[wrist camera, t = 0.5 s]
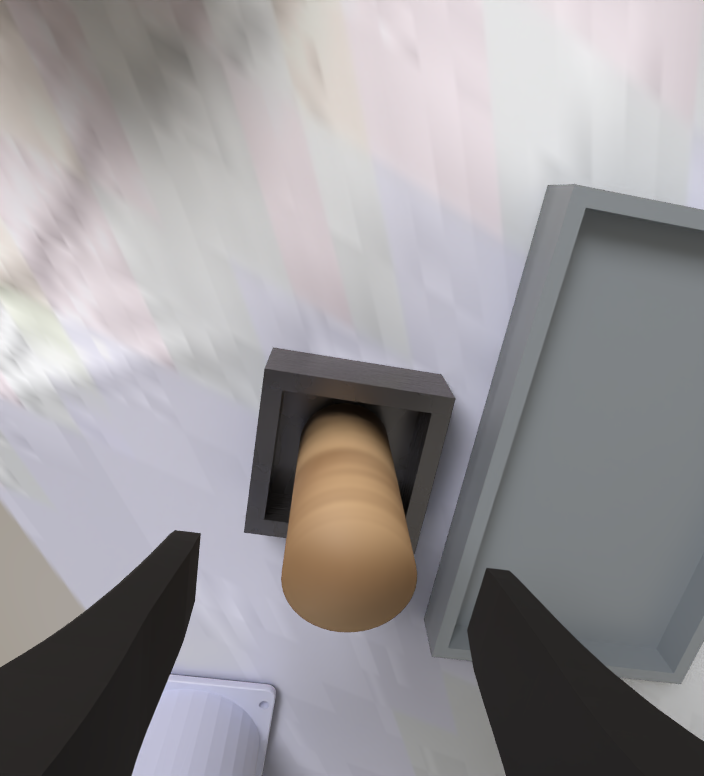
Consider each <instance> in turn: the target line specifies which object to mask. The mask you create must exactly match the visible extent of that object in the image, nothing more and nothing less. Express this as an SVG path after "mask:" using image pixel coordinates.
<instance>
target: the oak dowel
mask: <svg viewBox="0 0 704 776" xmlns="http://www.w3.org/2000/svg"><path fill="white" fill-rule="evenodd" d="M281 581H282V588H283V592H284V595H285V597H286V600H287V601H288V603H289V604H290V606H291V607H292V608H293V610H294V611H295V612H296V613H297V614H298V615H299V616H300V617H302V618H303V619H305V620H306V621H307V622H309V623H311V624H313V625H315V626H318V627H320V628H323V629H327V630H330V631H336V632H358V631H365V630H369V629H372V628H375V627H378V626H380V625H382V624H384V623H386V622H388V621H390V620H391V619H393V618H394V617H395V616H397V615H398V614H399V613H400V612H401V611H402V610H403V609H404V608H405V607H406V605H407V604H408V603H409V601H410V600H411V598H412V596H413V593H414V591H415V588H416V583H417V570H416V564H415V559H414V555H413V550H412V545H411V541H410V536H409V532H408V527H407V523H406V518H405V513H404V509H403V504H402V500H401V495H400V490H399V486H398V481H397V477H396V472H395V468H394V463H393V458H392V454H391V449H390V445H389V440H388V435H387V432H386V429H385V427H384V425H383V423H382V422H381V420H380V419H379V418H378V417H377V416H376V415H375V414H374V413H373V412H371V411H370V410H368V409H366V408H364V407H362V406H359V405H355V404H348V403H341V404H334V405H330V406H327V407H325V408H323V409H321V410H319V411H318V412H316V413H315V414H314V415H313V416H312V417H311V418H310V419H309V420H308V421H307V423H306V424H305V426H304V428H303V430H302V433H301V437H300V444H299V452H298V459H297V466H296V473H295V481H294V488H293V495H292V502H291V509H290V517H289V524H288V531H287V538H286V546H285V553H284V560H283V567H282V577H281Z"/></svg>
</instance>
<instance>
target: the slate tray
mask: <svg viewBox="0 0 704 776" xmlns="http://www.w3.org/2000/svg"><path fill="white" fill-rule="evenodd" d="M486 568H493V569H502V570H509V571H511V572H512V573H513V574H514V575H515V576H516V577H517V578H518V579H519V580H520V581H521V582H522V583H523V584H524V585H525V586H526V587H527V588H528V589H529V591H530V592H531V593H532V594H533V595H534V596H535V597H536V598H537V599H538V600H539V601H540V602H541V603H542V604H543V605H544V606H545V607H546V608H547V609H548V610H549V611H550V613H551V614H552V615H553V616H554V617H555V618H556V619H557V620H558V621H559V622H560V623H561V624H562V625H563V626H564V627H565V628H566V629H567V630H568V631H569V632H570V633H571V634H572V635H573V636H574V637H575V638H576V639H577V640H578V641H579V642H580V643H581V644H582V645H583V646H584V647H586V648H587V649H588V650H589V651H590V652H591V653H592V654H593V655H594V656H595V657H596V658H597V659H599V660H600V661H601V662H602V663H603V664H604V665H605V666H606V667H607V668H608V669H610V670H611V671H612V672H613V673H614V674H615V675H616V676H618V677H620V678H630V679H639V680H648V681H657V682H666V683H675V684H681V683H682V681H683V679H684V677H685V675H686V674H687V672H688V670H689V668H690V666H691V664H692V662H693V660H694V658H695V657H696V655H697V653H698V651H699V649H700V647H701V645H702V643H703V641H704V210H701V209H696V208H691V207H686V206H681V205H676V204H671V203H666V202H661V201H656V200H651V199H646V198H641V197H636V196H631V195H625V194H620V193H615V192H610V191H605V190H600V189H595V188H590V187H585V186H580V185H575V184H569V185H548V187H547V190H546V194H545V197H544V201H543V204H542V208H541V211H540V215H539V218H538V222H537V225H536V229H535V232H534V236H533V239H532V243H531V246H530V250H529V253H528V257H527V260H526V264H525V267H524V271H523V274H522V278H521V281H520V285H519V288H518V292H517V295H516V299H515V302H514V306H513V309H512V313H511V316H510V320H509V323H508V327H507V330H506V334H505V337H504V341H503V344H502V348H501V351H500V355H499V358H498V362H497V365H496V369H495V372H494V376H493V379H492V383H491V386H490V390H489V393H488V397H487V400H486V404H485V407H484V411H483V414H482V418H481V421H480V425H479V428H478V432H477V435H476V439H475V442H474V446H473V449H472V453H471V456H470V460H469V463H468V467H467V470H466V474H465V477H464V481H463V484H462V488H461V491H460V495H459V498H458V502H457V505H456V509H455V513H454V516H453V520H452V523H451V527H450V530H449V534H448V537H447V541H446V544H445V548H444V551H443V555H442V558H441V562H440V565H439V569H438V572H437V576H436V579H435V583H434V586H433V590H432V593H431V597H430V600H429V604H428V607H427V611H426V614H425V618H424V621H425V626H426V631H427V636H428V641H429V645H430V650H431V655H432V657H439V658H448V659H457V660H466V661H472V657H471V652H470V646H469V640H468V633H467V628H468V625H469V622H470V619H471V616H472V612H473V609H474V606H475V603H476V599H477V596H478V593H479V590H480V587H481V583H482V580H483V577H484V574H485V571H486Z"/></svg>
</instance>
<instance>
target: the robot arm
mask: <svg viewBox="0 0 704 776" xmlns="http://www.w3.org/2000/svg"><path fill="white" fill-rule="evenodd" d="M200 535H201V533H194V532H185V531H177V530H175V531H174V532H172V533H171V534H169V536H168V537H167V538H166V539H165V540H164V541H163V542H162V543H161V544H160V545H159V546H158V547H157V548H156V549H155V550H154V551H153V552H152V553H151V554H150V555H149V556H148V557H147V558H146V559H145V560H144V561H143V562H142V563H141V564H140V565H139V566H137V567H136V568H135V569H134V570H133V571H132V572H131V573H130V574H129V575H128V576H126V577H125V578H124V579H123V580H122V581H121V582H120V583H119V584H118V585H116V586H115V587H114V588H113V589H112V590H111V591H109V592H108V593H107V594H106V595H104V596H103V597H102V598H101V599H100V600H98V601H97V602H96V603H95V604H93V605H92V606H91V607H90V608H89V609H87V610H86V611H85V612H83V613H82V614H81V615H80V616H78V617H77V618H75V619H74V620H73V621H72V622H70V623H69V624H67V625H66V626H65V627H63V628H62V629H60V630H59V631H57V632H56V633H54V634H53V635H52V636H50V637H49V638H47V639H46V640H44V641H43V642H41V643H40V644H38V645H36V646H35V647H33V648H32V649H30V650H28V651H27V652H25V653H24V654H22V655H20V656H18V657H17V658H15V659H14V660H12V661H10V662H9V663H7V664H5V665H4V666H2V667H0V776H262V773H263V767H264V761H265V755H266V749H267V744H268V738H269V732H270V726H271V720H272V715H273V709H274V703H275V697H276V689H275V688H274V687H273V686H271V685H268V684H260V683H250V682H241V681H231V680H221V679H211V678H202V677H192V676H182V675H172V674H170V673H171V671H172V668H173V666H174V663H175V661H176V658H177V656H178V654H179V651H180V648H181V646H182V643H183V641H184V637H185V634H186V631H187V627H188V624H189V620H190V616H191V613H192V609H193V606H194V602H195V594H196V582H197V570H198V558H199V547H200ZM467 633H468V640H469V646H470V652H471V657H472V662H473V668H474V672H475V675H476V679H477V682H478V686H479V689H480V692H481V695H482V699H483V702H484V705H485V709H486V712H487V715H488V718H489V721H490V725H491V728H492V731H493V734H494V737H495V741H496V744H497V747H498V750H499V753H500V757H501V760H502V763H503V766H504V770H505V774H506V776H704V741H702V740H701V739H699V738H698V737H696V736H695V735H693V734H692V733H691V732H689V731H688V730H686V729H685V728H684V727H682V726H681V725H679V724H678V723H677V722H675V721H674V720H672V719H671V718H670V717H668V716H667V715H665V714H664V713H663V712H661V711H660V710H659V709H657V708H656V707H655V706H653V705H652V704H651V703H649V702H648V701H647V700H646V699H644V698H643V697H642V696H641V695H640V694H638V693H637V692H636V691H635V690H633V689H632V688H631V687H630V686H628V685H627V684H626V683H625V682H624V681H622V680H621V679H620V678H619V677H618V676H616V675H615V674H614V673H613V672H612V671H611V670H610V669H608V668H607V667H606V666H605V665H604V664H603V663H602V662H601V661H600V660H599V659H597V658H596V657H595V656H594V655H593V654H592V653H591V652H590V651H589V650H588V649H587V648H586V647H584V646H583V645H582V644H581V643H580V642H579V641H578V640H577V639H576V638H575V637H574V636H573V635H572V634H571V633H570V632H569V631H568V630H567V629H566V628H565V627H564V626H563V625H562V624H561V623H560V622H559V621H558V620H557V619H556V618H555V617H554V616H553V615H552V614H551V613H550V611H549V610H548V609H547V608H546V607H545V606H544V605H543V604H542V603H541V602H540V601H539V600H538V599H537V598H536V597H535V596H534V595H533V594H532V593H531V592H530V591H529V589H528V588H527V587H526V586H525V585H524V584H523V583H522V582H521V581H520V580H519V579H518V578H517V577H516V576H515V575H514V574H513V573H512V572H511V571H509V570H502V569H493V568H486V571H485V574H484V577H483V580H482V583H481V587H480V590H479V593H478V596H477V599H476V603H475V606H474V609H473V612H472V616H471V619H470V622H469V625H468V628H467ZM264 701H266V702H264Z"/></svg>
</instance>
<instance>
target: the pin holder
mask: <svg viewBox="0 0 704 776" xmlns="http://www.w3.org/2000/svg"><path fill="white" fill-rule="evenodd" d="M454 402H455V397H454V395H453V393H452V392H451V390H450V388H449V387H448V385H447V383H446V381H445V380H444V378H443V376H442V375H441V374H434V373H428V372H422V371H416V370H410V369H403V368H397V367H391V366H385V365H378V364H372V363H366V362H360V361H353V360H347V359H341V358H335V357H328V356H322V355H316V354H310V353H304V352H297V351H291V350H285V349H279V348H273V349H272V351H271V354H270V356H269V359H268V362H267V364H266V367H265V370H264V378H263V386H262V394H261V402H260V410H259V418H258V426H257V434H256V442H255V450H254V457H253V465H252V473H251V481H250V489H249V497H248V505H247V513H246V521H245V529H244V533H252V534H259V535H267V536H275V537H283V538H287V531H288V524H289V517H290V509H291V502H292V495H293V488H294V481H295V473H296V466H297V459H298V452H299V444H300V437H301V433H302V430H303V428H304V426H305V424H306V423H307V421H308V420H309V419H310V418H311V417H312V416H313V415H314V414H315V413H316V412H318V411H319V410H321V409H323V408H325V407H327V406H330V405H334V404H341V403H348V404H355V405H359V406H362V407H364V408H366V409H368V410H370V411H371V412H373V413H374V414H375V415H376V416H377V417H378V418H379V419H380V420H381V422H382V423H383V425H384V427H385V429H386V432H387V435H388V440H389V445H390V449H391V454H392V458H393V463H394V468H395V472H396V477H397V481H398V486H399V490H400V495H401V500H402V504H403V509H404V513H405V518H406V523H407V527H408V532H409V536H410V541H411V545H412V550H413V554H415V550H416V546H417V542H418V539H419V535H420V531H421V527H422V524H423V520H424V516H425V512H426V508H427V505H428V501H429V497H430V493H431V489H432V486H433V482H434V478H435V474H436V470H437V467H438V463H439V459H440V455H441V451H442V448H443V444H444V440H445V436H446V432H447V429H448V425H449V421H450V417H451V413H452V410H453V406H454Z"/></svg>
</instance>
